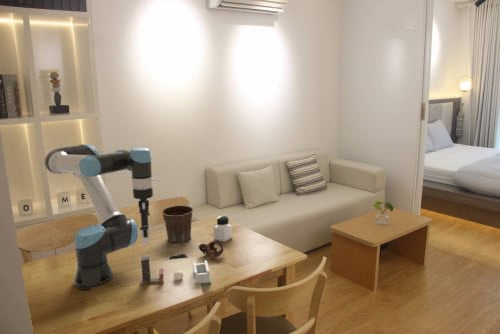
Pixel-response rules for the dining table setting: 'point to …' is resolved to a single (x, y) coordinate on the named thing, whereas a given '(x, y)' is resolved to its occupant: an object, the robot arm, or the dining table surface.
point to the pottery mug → (211, 249)
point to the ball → (178, 275)
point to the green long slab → (201, 273)
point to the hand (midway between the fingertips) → (146, 237)
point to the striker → (146, 273)
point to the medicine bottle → (222, 229)
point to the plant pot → (178, 223)
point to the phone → (178, 256)
